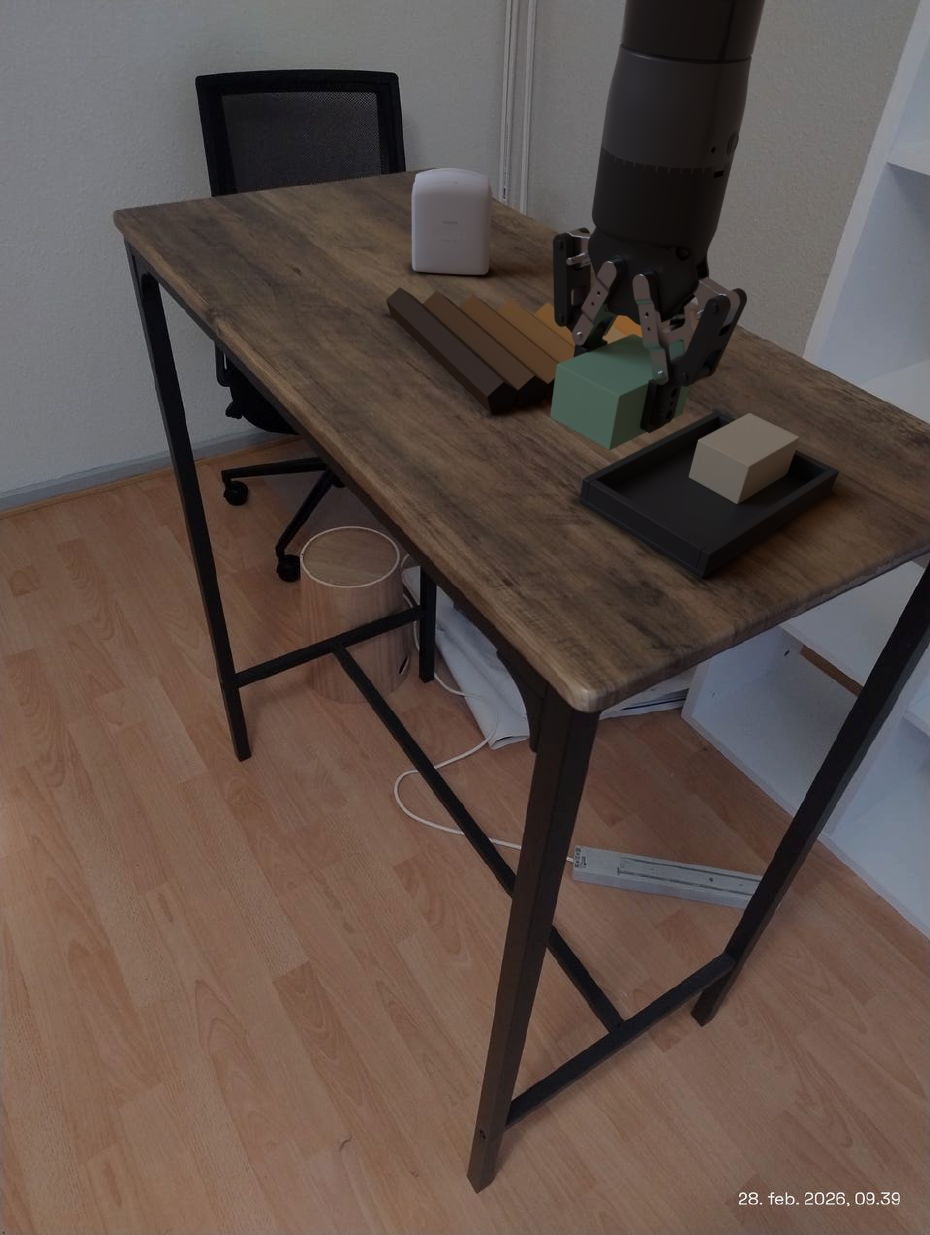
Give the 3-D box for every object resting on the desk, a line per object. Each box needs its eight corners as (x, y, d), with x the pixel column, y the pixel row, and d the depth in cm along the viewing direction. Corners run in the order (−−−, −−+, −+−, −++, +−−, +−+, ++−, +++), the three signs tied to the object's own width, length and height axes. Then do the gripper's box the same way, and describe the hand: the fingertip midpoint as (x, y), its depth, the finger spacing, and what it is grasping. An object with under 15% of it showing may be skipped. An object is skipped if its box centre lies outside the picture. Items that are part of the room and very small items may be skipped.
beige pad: (787, 474, 81) (800, 437, 79) (737, 504, 77) (749, 466, 75) (738, 449, 84) (749, 412, 82) (688, 477, 80) (697, 439, 77)
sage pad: (683, 414, 62) (695, 361, 59) (609, 451, 58) (619, 396, 55) (623, 384, 65) (633, 333, 62) (549, 417, 60) (556, 364, 58)
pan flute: (386, 317, 104) (485, 415, 88) (385, 289, 101) (487, 385, 85) (562, 287, 113) (681, 372, 97) (565, 261, 110) (688, 343, 95)
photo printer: (409, 274, 114) (410, 172, 105) (412, 261, 117) (413, 161, 109) (488, 279, 114) (494, 177, 105) (488, 266, 117) (495, 167, 109)
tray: (830, 493, 80) (839, 470, 78) (702, 579, 70) (709, 554, 68) (710, 432, 87) (716, 410, 86) (578, 501, 77) (582, 478, 76)
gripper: (532, 123, 51) (508, 386, 63) (735, 187, 44) (666, 473, 55) (615, 107, 55) (578, 357, 66) (814, 164, 47) (735, 435, 59)
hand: (618, 409), depth 61 cm, fingers closed on sage pad, 5 cm apart
